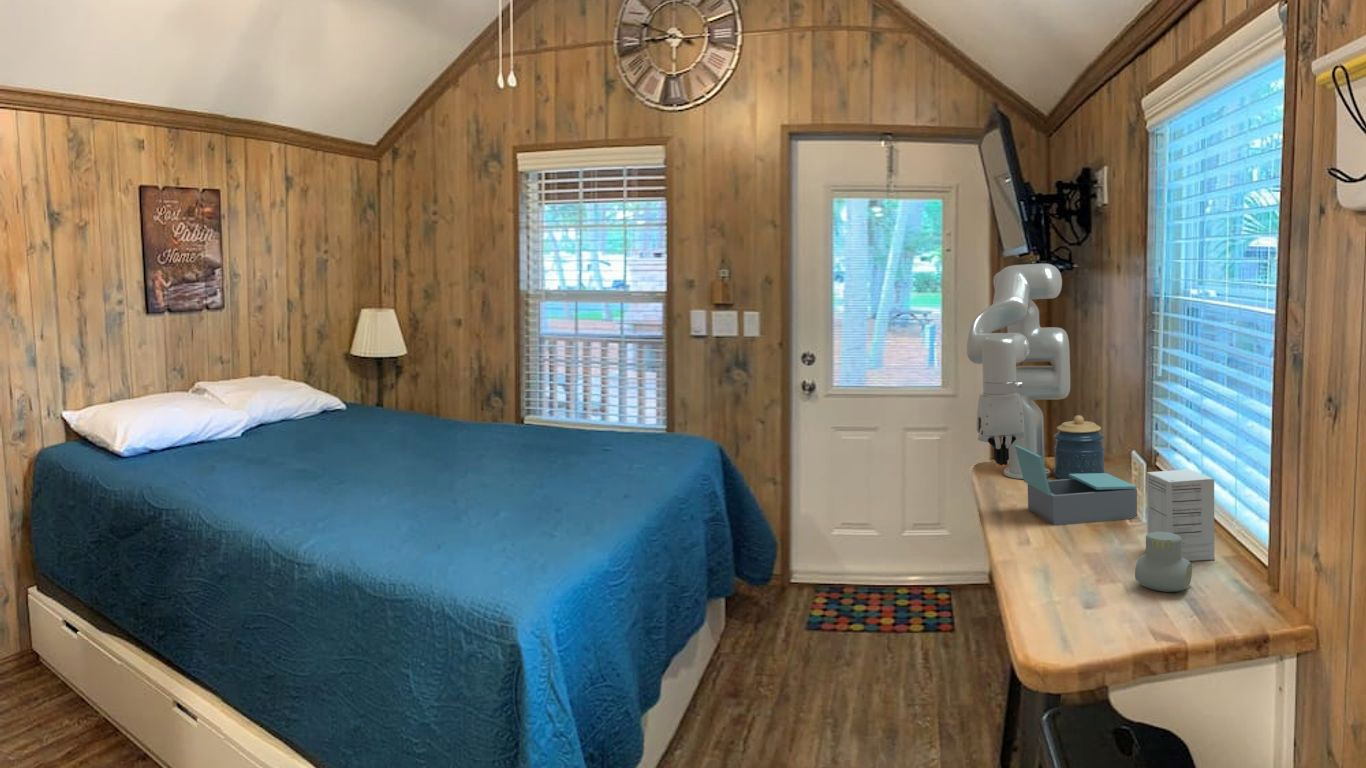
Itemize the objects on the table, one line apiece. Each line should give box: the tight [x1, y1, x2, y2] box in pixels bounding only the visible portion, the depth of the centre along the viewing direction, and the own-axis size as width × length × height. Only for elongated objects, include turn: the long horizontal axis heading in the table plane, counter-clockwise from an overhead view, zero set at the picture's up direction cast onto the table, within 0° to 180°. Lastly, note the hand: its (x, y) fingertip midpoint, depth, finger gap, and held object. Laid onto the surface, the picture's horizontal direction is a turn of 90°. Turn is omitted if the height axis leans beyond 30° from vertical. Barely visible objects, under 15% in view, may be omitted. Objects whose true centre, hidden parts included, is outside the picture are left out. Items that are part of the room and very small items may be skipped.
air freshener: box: [1134, 532, 1193, 593], centre depth 164 cm, size 11×8×10 cm
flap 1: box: [1015, 445, 1051, 495], centre depth 211 cm, size 14×10×1 cm
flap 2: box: [1069, 472, 1138, 490], centre depth 212 cm, size 14×10×1 cm
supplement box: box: [1146, 469, 1216, 562], centre depth 180 cm, size 10×9×17 cm
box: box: [1027, 478, 1138, 526], centre depth 212 cm, size 14×20×7 cm
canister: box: [1053, 414, 1106, 480], centre depth 245 cm, size 13×13×18 cm
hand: (1001, 463), depth 210 cm, fingers closed
